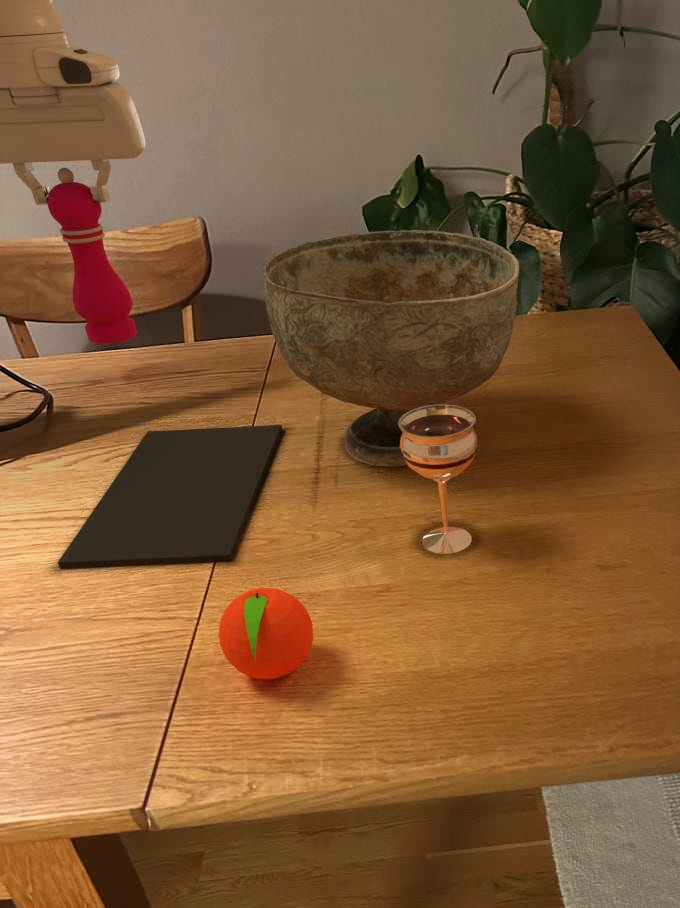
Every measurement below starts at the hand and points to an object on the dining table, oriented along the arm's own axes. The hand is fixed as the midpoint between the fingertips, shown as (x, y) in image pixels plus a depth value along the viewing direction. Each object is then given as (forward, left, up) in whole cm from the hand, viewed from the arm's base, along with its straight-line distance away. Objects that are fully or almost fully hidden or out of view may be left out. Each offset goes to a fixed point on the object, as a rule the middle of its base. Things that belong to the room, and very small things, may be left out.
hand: (74, 202), depth 102 cm
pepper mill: (0, 0, -16) cm, 16 cm away
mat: (+17, -35, -22) cm, 44 cm away
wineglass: (+45, -47, -22) cm, 69 cm away
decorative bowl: (+40, -25, -22) cm, 52 cm away
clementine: (+32, -65, -22) cm, 76 cm away
